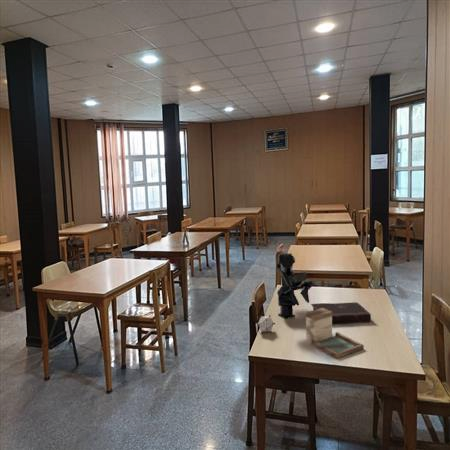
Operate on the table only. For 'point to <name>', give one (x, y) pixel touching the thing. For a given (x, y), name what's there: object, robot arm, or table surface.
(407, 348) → the table surface
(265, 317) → the white spiky ball
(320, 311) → the maple block
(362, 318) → the diary
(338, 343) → the felt tray
